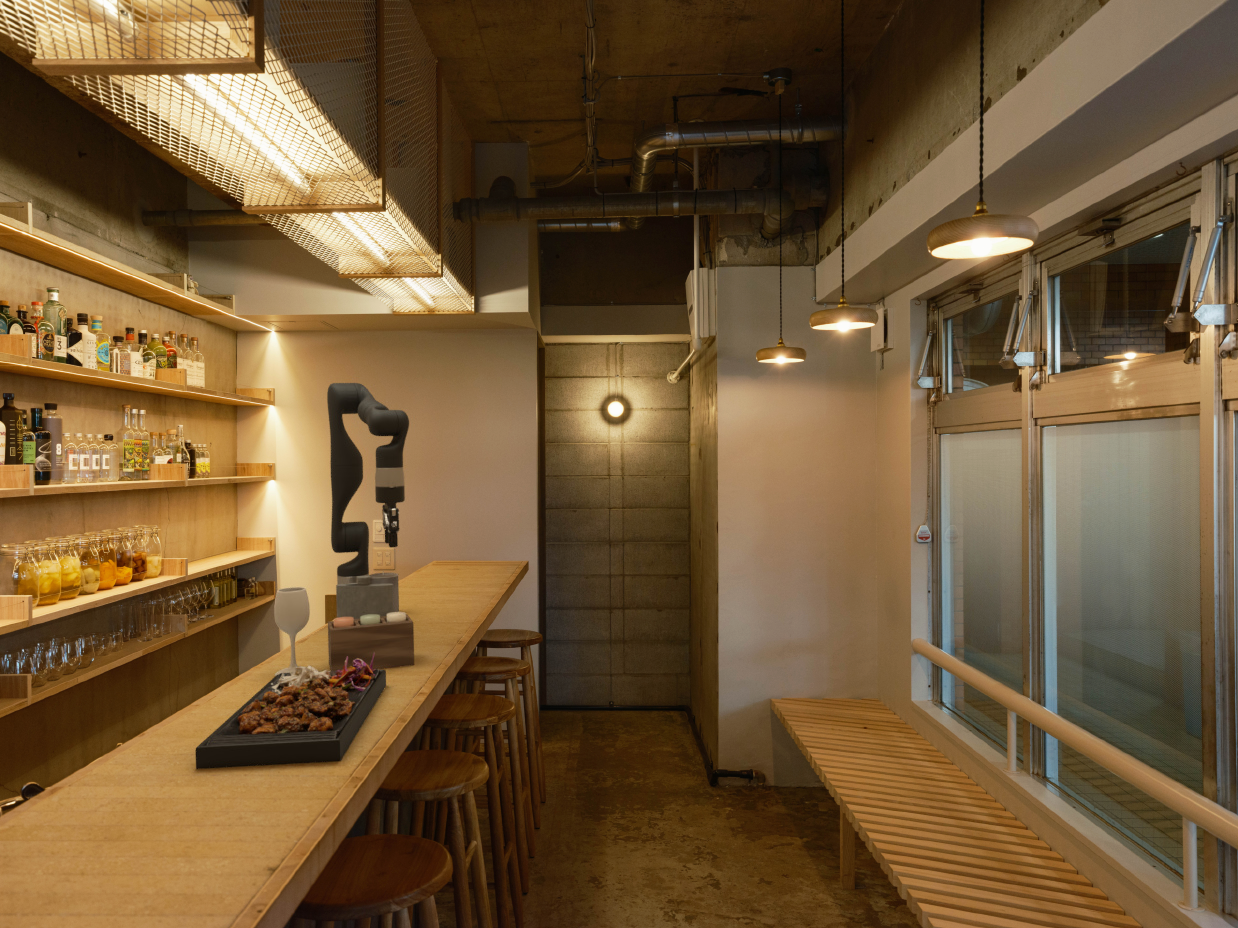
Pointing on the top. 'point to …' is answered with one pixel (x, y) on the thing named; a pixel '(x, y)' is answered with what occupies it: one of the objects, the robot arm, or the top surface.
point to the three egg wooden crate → (372, 644)
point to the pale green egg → (370, 619)
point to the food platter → (296, 719)
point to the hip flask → (364, 598)
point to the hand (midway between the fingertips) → (391, 545)
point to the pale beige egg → (396, 617)
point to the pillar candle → (388, 579)
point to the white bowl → (291, 616)
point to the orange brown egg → (343, 622)
